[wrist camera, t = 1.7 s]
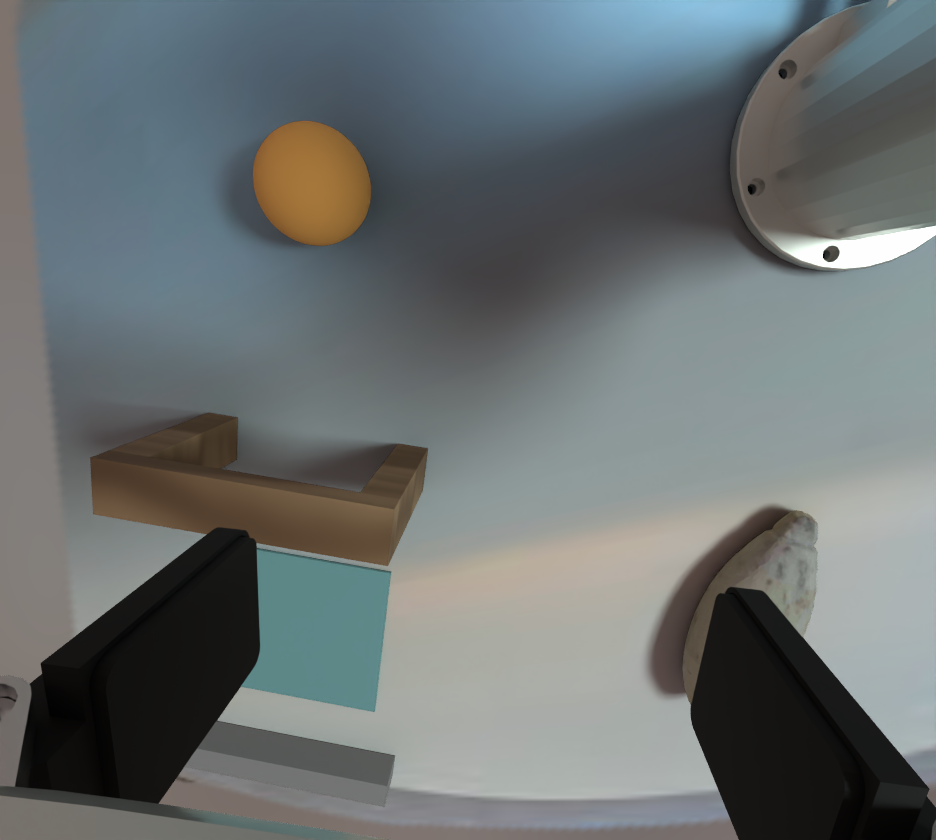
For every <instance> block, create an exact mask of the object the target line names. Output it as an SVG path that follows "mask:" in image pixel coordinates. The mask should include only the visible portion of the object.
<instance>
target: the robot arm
mask: <svg viewBox="0 0 936 840" xmlns="http://www.w3.org/2000/svg"><path fill="white" fill-rule="evenodd" d="M778 72H779V73H781V74H782V76H783V79H782V78H781V77H780V76H779V74H778ZM730 176H731V184H732V192H733V195H734V198H735V201H736V204H737V207H738V210H739V213H740V215H741V217H742V218H743V220H744V222H745V223H746V225H747V227H748V229H749V230H750V232H751V233H752V234H753V235H754V236H755V237H756V238H757V239H758V240H759V242H760V243H761V244H762V245H763V246H764V247H765V248H767V249H768V250H770V251H771V252H773V253H774V254H775V255H777V256H778V257H780V258H781V259H783V260H786V261H788V262H791V263H793V264H795V265H798V266H800V267H805V268H810V269H815V270H821V271H846V270H854V269H863V268H869V267H872V266H876V265H879V264H883V263H887V262H890V261H892V260H894V259H897V258H899V257H901V256H903V255H905V254H907V253H909V252H912V251H914V250H915V249H917V248H918V247H920V246H921V245H923V244H924V243H925V242H927V241H928V240H930V239H931V238H933V237H934V236H936V0H871V1H870V2H867V3H863V4H859V5H855V6H851V7H848V8H846V9H844V10H842V11H839V12H837V13H835V14H833V15H831V16H828V17H826V18H824V19H823V20H821V21H820V22H818V23H817V24H815V25H814V26H812V27H811V28H809V29H808V30H806V31H805V32H804V33H802V34H801V35H799V36H798V37H797V38H796V39H795V40H794V41H793V42H792V43H790V44H789V45H788V46H787V47H786V48H785V49H784V50H783V51H782V52H781V53H780V54H779V55H778V56H777V57H776V58H775V59H774V60H773V62H772V63H771V64H770V65H769V66H768V67H767V68H766V69H765V70H764V72H763V73H762V74H761V76H760V77H759V79H758V81H757V82H756V84H755V85H754V87H753V88H752V90H751V91H750V93H749V95H748V97H747V99H746V101H745V103H744V106H743V108H742V110H741V113H740V115H739V117H738V120H737V124H736V128H735V132H734V136H733V140H732V144H731V156H730ZM748 186H751V187H752V189H753V192H752V194H751V195H750V194H749V192H748ZM823 251H824V252H825V257H824V259H823ZM259 653H260V627H259V599H258V572H257V546H256V541H255V539H253V538H250V536H249V534H248V532H247V531H246V530H240V529H232V528H223V527H217V528H215V529H213V530H212V531H211V532H209V533H208V534H207V535H206V536H204V537H203V538H202V539H200V540H199V541H198V542H197V543H195V544H194V545H193V546H191V547H190V548H189V549H187V550H186V551H185V552H184V553H182V554H181V555H180V556H178V557H177V558H176V559H175V560H173V561H172V562H171V563H169V564H168V565H167V566H166V567H164V568H163V569H162V570H160V571H159V572H158V573H156V574H155V575H154V576H153V577H151V578H150V579H149V580H147V581H146V582H145V583H144V584H142V585H141V586H140V587H138V588H137V589H136V590H135V591H133V592H132V593H131V594H129V595H128V596H127V597H126V598H124V599H123V600H122V601H120V602H119V603H118V604H116V605H115V606H114V607H113V608H111V609H110V610H109V611H107V612H106V613H105V614H104V615H102V616H101V617H100V618H98V619H97V620H96V621H95V622H93V623H92V624H91V625H89V626H88V627H87V628H85V629H84V630H83V631H82V632H80V633H79V634H78V635H76V636H75V637H74V638H73V639H71V640H70V641H69V642H67V643H66V644H65V645H64V646H62V647H61V648H60V649H58V650H57V651H56V652H55V653H53V654H52V655H51V656H49V657H48V658H47V659H45V660H44V661H43V662H42V663H41V668H42V674H41V675H40V676H39V677H38V678H36V679H35V680H34V681H33V682H32V683H30V684H29V683H27V682H26V681H25V680H24V679H22V678H19V677H14V676H0V840H389V839H383V838H377V837H370V836H364V835H358V834H352V833H345V832H339V831H333V830H326V829H320V828H313V827H306V826H300V825H294V824H287V823H280V822H274V821H267V820H261V819H255V818H248V817H242V816H235V815H229V814H222V813H216V812H209V811H203V810H196V809H190V808H183V807H177V806H170V805H163V804H158V803H159V802H160V800H161V799H162V797H163V796H164V795H165V793H166V792H167V791H168V789H169V788H170V786H171V785H172V783H173V782H174V781H175V779H176V778H177V776H178V775H179V774H180V772H181V771H182V769H183V768H184V766H185V765H186V764H187V762H188V761H189V759H190V758H191V756H192V755H193V754H194V752H195V751H196V749H197V748H198V747H199V745H200V744H201V742H202V741H203V739H204V738H205V737H206V735H207V734H208V732H209V731H210V729H211V728H212V727H213V725H214V724H215V722H216V721H217V720H218V718H219V717H220V715H221V714H222V712H223V711H224V710H225V708H226V707H227V705H228V704H229V702H230V701H231V700H232V698H233V697H234V695H235V694H236V693H237V691H238V690H239V688H240V687H241V685H242V684H243V683H244V681H245V680H246V678H247V677H248V675H249V674H250V673H251V671H252V670H253V668H254V667H255V665H256V663H257V660H258V657H259ZM691 721H692V725H693V729H694V731H695V734H696V736H697V738H698V741H699V743H700V746H701V748H702V751H703V753H704V756H705V758H706V760H707V763H708V765H709V768H710V770H711V773H712V775H713V778H714V780H715V782H716V785H717V787H718V790H719V792H720V795H721V797H722V800H723V802H724V804H725V807H726V809H727V812H728V814H729V817H730V819H731V822H732V824H733V826H734V829H735V831H736V834H737V836H738V839H739V840H936V807H935V806H934V805H933V804H932V802H931V801H930V800H929V799H928V797H927V794H928V791H929V788H928V787H927V785H926V784H925V783H924V782H923V781H922V779H921V778H920V777H919V776H918V775H917V773H916V772H915V771H914V770H913V769H912V767H911V766H910V765H909V764H908V763H907V761H906V760H905V759H904V758H903V757H902V755H901V754H900V753H899V752H898V751H897V749H896V748H895V747H894V746H893V745H892V743H891V742H890V741H889V740H888V739H887V738H886V736H885V735H884V734H883V733H882V732H881V730H880V729H879V728H878V727H877V726H876V724H875V723H874V722H873V721H872V720H871V718H870V717H869V716H868V715H867V714H866V712H865V711H864V710H863V709H862V708H861V706H860V705H859V704H858V703H857V702H856V700H855V699H854V698H853V697H852V696H851V694H850V693H849V692H848V691H847V690H846V689H845V687H844V686H843V685H842V684H841V683H840V681H839V680H838V679H837V678H836V677H835V675H834V674H833V673H832V672H831V671H830V669H829V668H828V667H827V666H826V665H825V663H824V662H823V661H822V660H821V659H820V657H819V656H818V655H817V654H816V653H815V651H814V650H813V649H812V648H811V647H810V645H809V644H808V643H807V642H806V641H805V640H804V638H803V637H802V636H801V635H800V634H799V632H798V631H797V630H796V629H795V628H794V626H793V625H792V624H791V623H790V622H789V620H788V619H787V618H786V617H785V616H784V614H783V613H782V612H781V611H780V610H779V608H778V607H777V606H776V605H775V604H774V602H773V601H772V600H771V599H770V598H769V596H768V595H767V594H766V593H765V592H764V591H762V590H755V589H747V588H738V587H729V588H728V589H727V590H726V591H725V594H724V593H719V594H718V595H717V596H716V599H715V603H714V607H713V611H712V616H711V620H710V624H709V629H708V633H707V638H706V642H705V646H704V651H703V655H702V659H701V664H700V668H699V672H698V677H697V681H696V686H695V690H694V694H693V699H692V703H691Z"/></svg>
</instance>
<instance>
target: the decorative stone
mask: <svg viewBox="0 0 936 840" xmlns="http://www.w3.org/2000/svg"><path fill="white" fill-rule="evenodd" d="M817 539H818V525H817V522H816V521H815V520H814V518H813V517H812V516H810V515H809V514H806V513H804V512H802V511H792V512H790V513H788V514H787V515H786V516H784V517H783V518H782V519H781V520H779V521H778V522H777V523H776V524H775V525H774V526H773V528H772V529H771V530H767V531H764V532H763V533H762V534H760V535H759V536H757V537H756V538H755V539H753V540H752V541H751V542H749V543H748V544H747V545H746V546H745V547H744V548H743V549H741V550H740V551H739V552H738V553H736V554H735V555H734V556H733V557H732V558H731V559H730V560H729V561H728V562H727V563H726V564H725V566H724V567H723V568H722V569H721V570H720V571H719V572H718V574H717V575H716V577H715V578H714V579H713V581H712V582H711V583H710V585H709V586H708V588H707V590H706V592H705V593H704V595H703V597H702V599H701V601H700V603H699V605H698V607H697V609H696V611H695V613H694V616H693V619H692V622H691V625H690V628H689V631H688V635H687V638H686V643H685V648H684V656H683V665H682V670H683V682H684V687H685V691H686V693H687V697H688V700H689V702H690V704H691V703H692V699H693V694H694V690H695V686H696V681H697V677H698V672H699V668H700V664H701V659H702V655H703V651H704V646H705V642H706V638H707V633H708V629H709V624H710V620H711V616H712V611H713V607H714V603H715V599H716V596H717V595H718V594H719V593H724V594H725V591H726V590H727V589H728V588H729V587H738V588H747V589H755V590H762V591H764V592H765V593H766V594H767V595H768V596H769V598H770V599H771V600H772V601H773V602H774V604H775V605H776V606H777V607H778V608H779V610H780V611H781V612H782V613H783V614H784V616H785V617H786V618H787V619H788V620H789V622H790V623H791V624H792V625H793V626H794V628H795V629H796V630H797V631H798V632H799V634H800V635H801V636H802V637H803V636H804V634H805V632H806V629H807V626H808V623H809V621H810V617H811V614H812V610H813V607H814V599H815V595H816V578H817V550H816V548H815V547H814V544H815V543H816V542H817Z"/></svg>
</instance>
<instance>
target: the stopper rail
mask: <svg viewBox="0 0 936 840" xmlns="http://www.w3.org/2000/svg"><path fill="white" fill-rule="evenodd" d="M394 759H395V756H393V755H388V754H383V753H377V752H372V751H367V750H362V749H357V748H352V747H347V746H341V745H336V744H331V743H326V742H321V741H316V740H311V739H305V738H300V737H295V736H290V735H285V734H280V733H275V732H270V731H264V730H259V729H254V728H249V727H244V726H239V725H234V724H228V723H223V722H218V721H216V722H215V724H214V725H213V727H212V728H211V729H210V731H209V732H208V734H207V735H206V737H205V738H204V739H203V741H202V742H201V744H200V745H199V747H198V748H197V749H196V751H195V752H194V754H193V755H192V756H191V758H190V759H189V761H188V762H187V764H186V765H185V766H184V767H187V768H192V769H197V770H202V771H207V772H212V773H217V774H222V775H227V776H232V777H237V778H242V779H247V780H252V781H257V782H262V783H267V784H272V785H277V786H282V787H287V788H292V789H297V790H302V791H307V792H312V793H317V794H322V795H327V796H332V797H337V798H342V799H347V800H352V801H357V802H362V803H367V804H372V805H377V806H382V807H385V803H386V799H387V795H388V791H389V787H390V783H391V779H392V774H393V767H394Z"/></svg>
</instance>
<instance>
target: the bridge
mask: <svg viewBox="0 0 936 840" xmlns="http://www.w3.org/2000/svg"><path fill="white" fill-rule="evenodd" d="M237 429H238V417H232V416H226V415H220V414H214V413H207V414H205V415H202V416H199V417H197V418H194V419H191V420H189V421H186V422H183V423H181V424H178V425H175V426H173V427H170V428H167V429H165V430H162V431H159V432H157V433H154V434H152V435H149V436H146V437H144V438H141V439H138V440H136V441H133V442H130V443H128V444H125V445H122V446H120V447H117V448H114V449H112V450H109V451H107V452H104V453H101V454H99V455H96V456H93V457H91V458H90V460H91V480H92V500H93V514H95V515H101V516H106V517H112V518H118V519H124V520H129V521H135V522H141V523H146V524H152V525H158V526H163V527H169V528H175V529H180V530H186V531H192V532H197V533H203V534H208V533H209V532H211V531H212V530H213V529H215V528H217V527H223V528H232V529H240V530H246V531H247V532H248V534H249V536H250V538H253V539H255V541H256V543H260V544H266V545H271V546H277V547H283V548H288V549H294V550H300V551H305V552H311V553H317V554H322V555H328V556H334V557H339V558H345V559H351V560H356V561H362V562H368V563H373V564H379V565H385V566H388V565H389V562H390V560H391V558H392V556H393V554H394V552H395V549H396V547H397V545H398V543H399V541H400V539H401V536H402V534H403V532H404V530H405V528H406V526H407V523H408V521H409V519H410V517H411V515H412V513H413V511H414V508H415V506H416V504H417V502H418V500H419V498H420V495H421V493H422V491H423V484H424V477H425V469H426V461H427V453H428V448H421V447H415V446H409V445H403V444H398V445H397V446H396V447H395V449H394V450H393V451H392V453H391V454H390V455H389V456H388V458H387V459H386V460H385V461H384V463H383V464H382V465H381V467H380V468H379V469H378V470H377V472H376V473H375V474H374V476H373V477H372V478H371V479H370V481H369V482H368V483H367V485H366V486H365V487H364V488H363V490H362V491H361V492H354V491H348V490H342V489H336V488H330V487H324V486H318V485H312V484H307V483H301V482H295V481H289V480H283V479H277V478H271V477H265V476H259V475H253V474H247V473H242V472H236V471H230V470H224V469H221V468H223V467H225V466H226V465H228V464H230V463H231V462H233V461H235V460H236V459H237Z"/></svg>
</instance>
